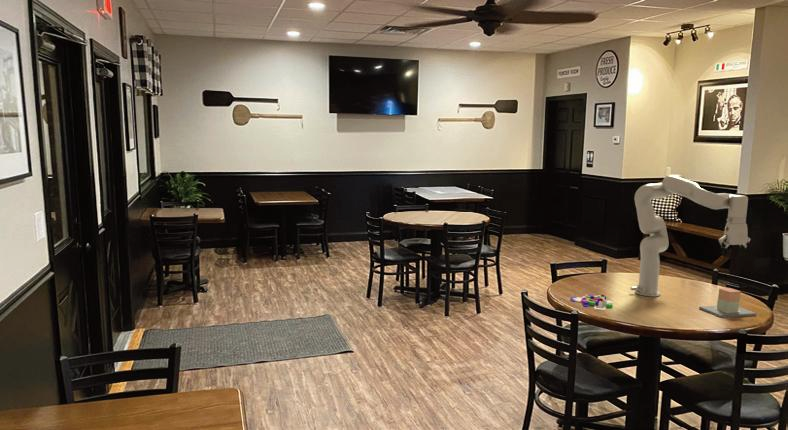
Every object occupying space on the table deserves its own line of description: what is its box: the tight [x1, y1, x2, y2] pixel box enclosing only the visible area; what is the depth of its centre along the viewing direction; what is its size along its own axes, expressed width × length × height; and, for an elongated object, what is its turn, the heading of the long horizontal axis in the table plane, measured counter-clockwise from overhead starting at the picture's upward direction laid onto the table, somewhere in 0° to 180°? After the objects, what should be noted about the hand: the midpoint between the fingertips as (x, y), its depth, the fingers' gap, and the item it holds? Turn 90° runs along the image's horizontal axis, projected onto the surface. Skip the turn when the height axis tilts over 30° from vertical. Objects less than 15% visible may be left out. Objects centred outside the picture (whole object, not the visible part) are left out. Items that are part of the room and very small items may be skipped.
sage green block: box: [716, 298, 740, 312], centre depth 278 cm, size 6×6×5 cm
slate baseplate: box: [698, 305, 757, 318], centre depth 278 cm, size 20×14×1 cm
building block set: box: [570, 293, 614, 312], centre depth 291 cm, size 25×20×4 cm
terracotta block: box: [717, 287, 742, 302], centre depth 277 cm, size 6×6×5 cm
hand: (732, 255), depth 275 cm, fingers open, 9 cm apart
